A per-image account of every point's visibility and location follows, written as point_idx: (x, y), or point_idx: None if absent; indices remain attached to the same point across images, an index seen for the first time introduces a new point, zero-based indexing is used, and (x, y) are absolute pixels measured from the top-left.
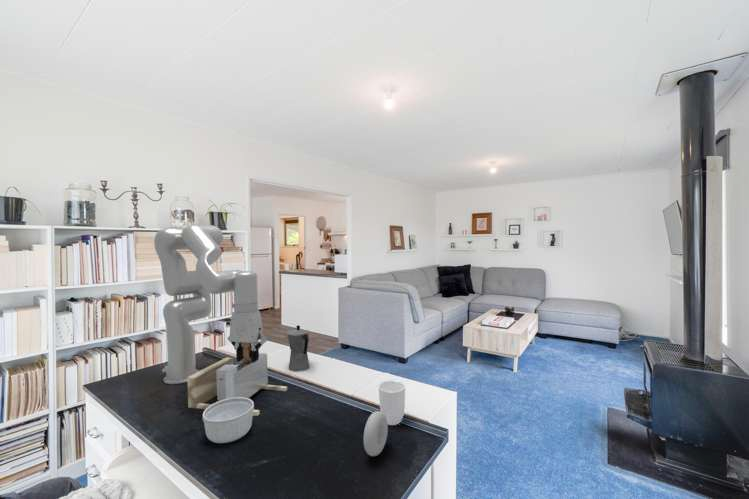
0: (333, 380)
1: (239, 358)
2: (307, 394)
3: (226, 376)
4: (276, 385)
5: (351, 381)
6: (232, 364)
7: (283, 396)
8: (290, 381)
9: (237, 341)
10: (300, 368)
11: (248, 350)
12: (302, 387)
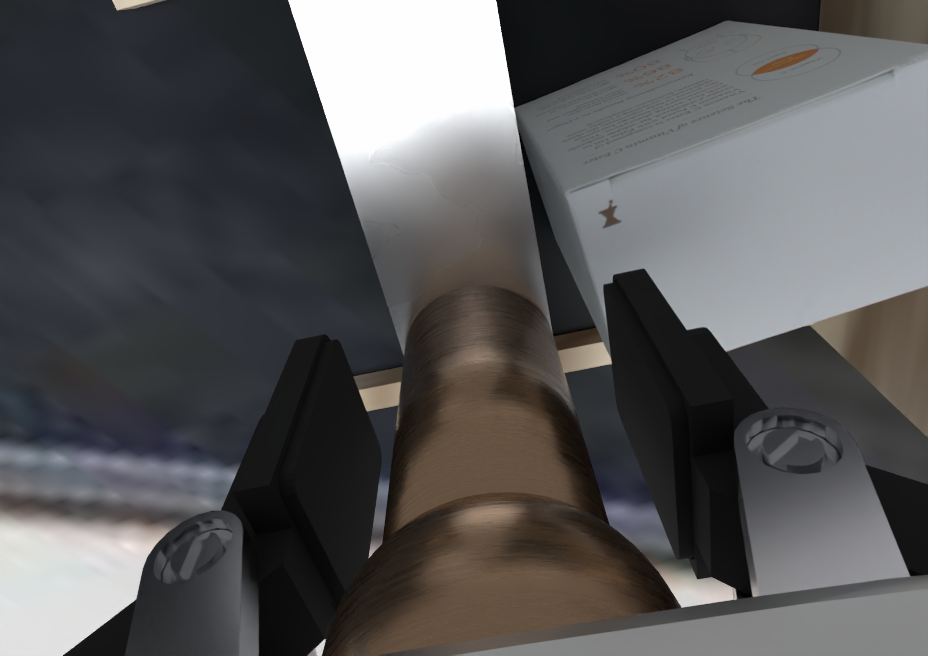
0: None
1: (614, 323)
2: (118, 413)
3: None
4: (396, 405)
5: (47, 622)
6: (920, 415)
7: (244, 325)
8: None
9: (723, 628)
10: None
11: (393, 495)
12: None
